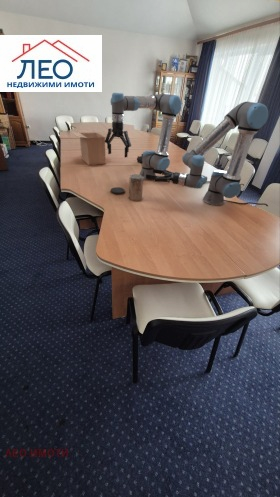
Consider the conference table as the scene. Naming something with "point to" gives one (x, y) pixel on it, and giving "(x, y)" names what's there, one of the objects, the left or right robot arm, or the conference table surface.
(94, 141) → the box
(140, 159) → the laser sight
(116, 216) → the conference table surface
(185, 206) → the conference table surface
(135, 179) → the jar
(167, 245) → the conference table surface
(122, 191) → the lid
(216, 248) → the conference table surface
